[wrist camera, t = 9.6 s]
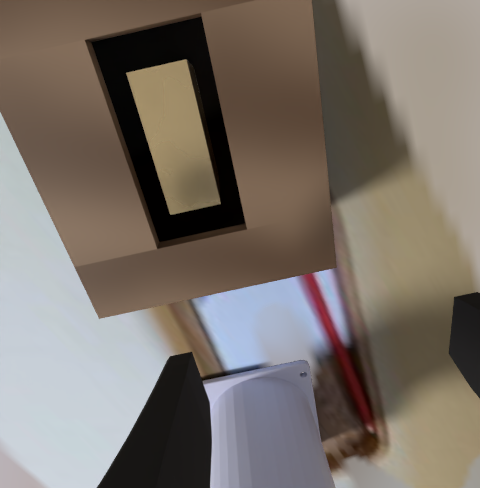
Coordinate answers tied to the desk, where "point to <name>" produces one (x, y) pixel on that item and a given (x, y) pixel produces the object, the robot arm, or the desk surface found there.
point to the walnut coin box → (120, 164)
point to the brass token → (177, 134)
